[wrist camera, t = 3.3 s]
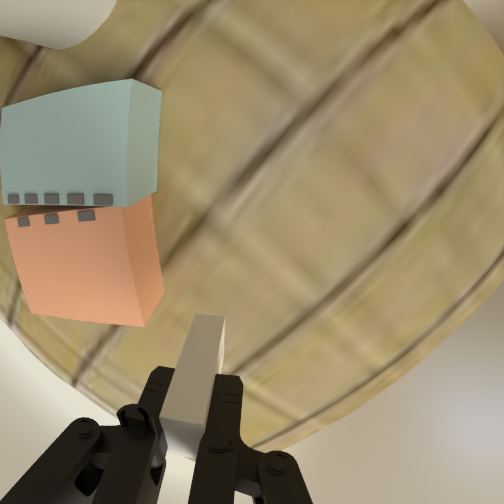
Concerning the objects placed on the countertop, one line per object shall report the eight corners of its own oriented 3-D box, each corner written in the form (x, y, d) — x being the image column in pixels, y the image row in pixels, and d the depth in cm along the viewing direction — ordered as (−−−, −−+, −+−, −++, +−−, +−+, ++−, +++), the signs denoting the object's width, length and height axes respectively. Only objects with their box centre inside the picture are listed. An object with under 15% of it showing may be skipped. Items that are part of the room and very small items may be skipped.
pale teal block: (43, 108, 17) (0, 108, 12) (162, 91, 17) (130, 78, 12) (42, 189, 19) (1, 205, 14) (157, 190, 19) (125, 208, 14)
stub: (42, 202, 20) (2, 219, 15) (151, 189, 20) (119, 206, 15) (61, 286, 23) (30, 314, 18) (165, 290, 23) (143, 328, 18)
